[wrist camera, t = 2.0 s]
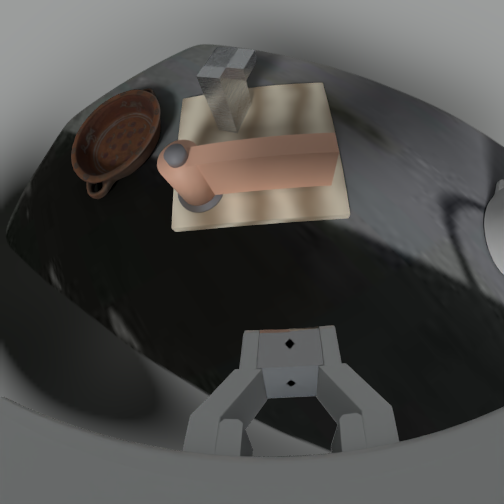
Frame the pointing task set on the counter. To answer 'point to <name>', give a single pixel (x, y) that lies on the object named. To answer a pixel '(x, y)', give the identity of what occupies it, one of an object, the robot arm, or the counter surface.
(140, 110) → the dish
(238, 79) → the block
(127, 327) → the counter surface
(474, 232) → the counter surface
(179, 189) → the link
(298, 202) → the base board
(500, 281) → the counter surface
